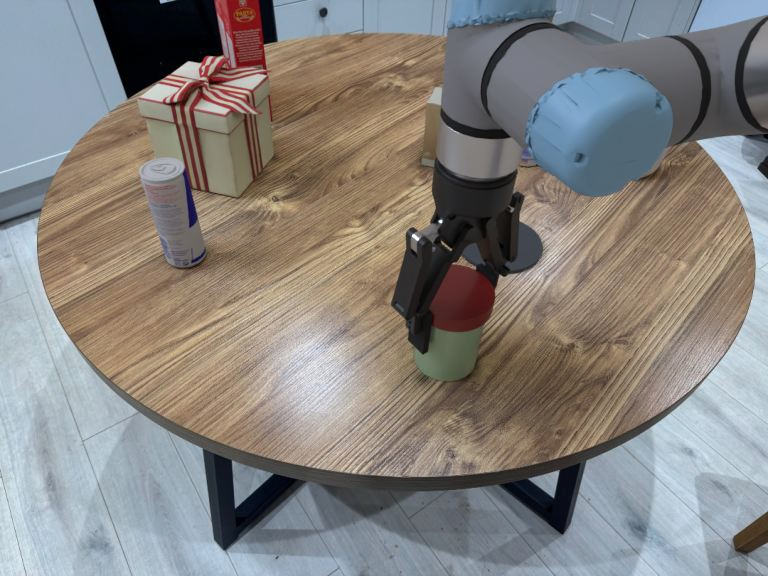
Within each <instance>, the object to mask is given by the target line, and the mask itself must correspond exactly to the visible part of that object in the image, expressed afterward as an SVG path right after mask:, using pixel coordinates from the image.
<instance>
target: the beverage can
mask: <svg viewBox="0 0 768 576" xmlns="http://www.w3.org/2000/svg"><path fill="white" fill-rule="evenodd" d="M138 174H139V177H140V182H141V185H142V188H143V192H144V194H145V198H146V200H147V203H148V206H149V210H150V212H151V216H152V220H153V222H154V225H155V229H156V231H157V233H158V238H159V240H160V244H161V247H162V250H163V253H164V256H165V260H166V262H167V263H168V264H169V265H171V266H173V267H176V268H182V269H183V268H190V267H194V266H196V265H197V264H199V263H201V262H202V261H203V260H204V259H205V257H206V256H207V248H206V244H205V240H204V235H203V231H202V228H201V223H200V220H199V216H198V212H197V209H196V204H195V201H194V196H193V193H192V188H191V187H190V184H189V180H188V176H187V172H186V169H185V166H184V164H183V162H181V161H180V160H178V159H175V158H157V159H156V158H153V159H151V160H148V161H146V162H144V163H143V164H142V165H141V166H140V168H139V169H138Z"/></svg>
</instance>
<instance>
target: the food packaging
mask: <svg viewBox="0 0 768 576" xmlns="http://www.w3.org/2000/svg"><path fill="white" fill-rule="evenodd" d="M213 1H214V7H215V12H216V18H217V24H218V29H219V30H218V32H219V36H220V42H221V48H222V54H223V57H227V58H230V60H228V61H226V63H225V64H224V65H225V68H234V67H244V66H249V67H253V68H258V69H262V70H268V69H267V62H266V61H267V60H266V53H265V44H264V43H265V42H264V34H263V27H262V18H261V10H260V1H259V0H213ZM261 75H266V76H268V72H267V73H264V74H261ZM268 99H269V109H270V118H271V123H272V122H274V119H273V111H272V110H273V109H272V103H271V94H270V95H269V96H268Z"/></svg>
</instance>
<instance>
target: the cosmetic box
mask: <svg viewBox="0 0 768 576" xmlns="http://www.w3.org/2000/svg"><path fill="white" fill-rule="evenodd" d="M441 96H442V87H441V86H435V87H434V88H433V90H432V91H431V92H430V94H429V97H428V99H427V101H426V105H425V107H426V108H425V119H424V120H425V121H424V131H423V145H422V155H421V166H425V167H430V168H434V162H435V159H436V157H437V155H436V146H437V137H438V127H439V118H440V111H441Z"/></svg>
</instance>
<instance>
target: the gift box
mask: <svg viewBox="0 0 768 576" xmlns="http://www.w3.org/2000/svg"><path fill="white" fill-rule="evenodd" d="M228 60H230V58H227V57H224V56H211V55H206V56H205V57H203V60H202V61H201V63H199V62H195V61H190V60H188V61H186V62H185V63H184V64H182V65H181V66H179V67H178V68H177V69H176V70H174V71H173V72H171V73H170V74H168V75H167V76H165V77H164V78H163V79H162V80H160V81H158V82H157V83H156V84H155V85H154V86H152V87H150V89H148V90H147V91H146V92H144V93H143V94H141V95H140V96H139V97H138V98H137V100H136V101H137V104H138V109H139V112H140V117H141V118H144V119H145V123H146V127H147V130H148V135H149V138H150V142H151V147H152V149H153V154H154V159H157V158H175V159H178V160H180V161H181V162H183V164H184V166H185V169H186V172H187V176H188V180H189V184H190V188H191V189H196V190H199V191H204V192H208V193H209V192H210V193H214V194H220V195H222V196H223V195H224V196H227V197H232V198H237V199H238V198H240V197H241V196H242V195H243V194H244V192H245V191H246V190H247V189H248V188H249V186H251V184H252V183H253V182H254V181H255V180H256V179H257V177H258V176H259V174H260V173H262V172H263V170H264V168H265V167H266V166H267V165H268V164H269V163H270V161H271V160H272V159H273V158H274V156H275V150H274V149H275V148H274V139H273V130H272V129H273V128H272V122H271V118H270V109H269V99H268V96H269V95H270V96H271V84H270V77H269V76H268V75H267V76H266V75H261V74H264V73H267V74H268V73H271V72H272V70H271V69H270V70H269V69H267V70H262V69H258V68H253V67H249V66H244V67H234V68H226V67H224V65H225V63H226V61H228Z"/></svg>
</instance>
